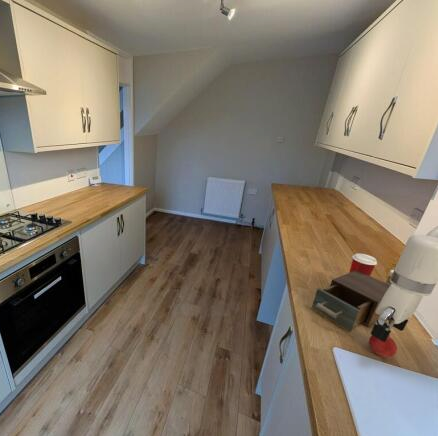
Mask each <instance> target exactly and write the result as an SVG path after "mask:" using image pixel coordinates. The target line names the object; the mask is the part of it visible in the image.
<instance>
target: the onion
mask: <svg viewBox="0 0 438 436" xmlns="http://www.w3.org/2000/svg"><path fill="white" fill-rule="evenodd" d="M368 345H369V348H370V349H371V350H372V351H373V352H374V353H375V354H376V355H377V356H378V357H383V358H384V357H386V358H391V357H393V356H396V354H397V351H398V346H397V344H396V342H395V340H394V339H393V338H392V337H391V333H390V334H389V336H388V338H387V340H386V342H383V341H381V340H379V339H378V338H376V337H374V336H373V335H371V336H370V337H369V339H368Z"/></svg>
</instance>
